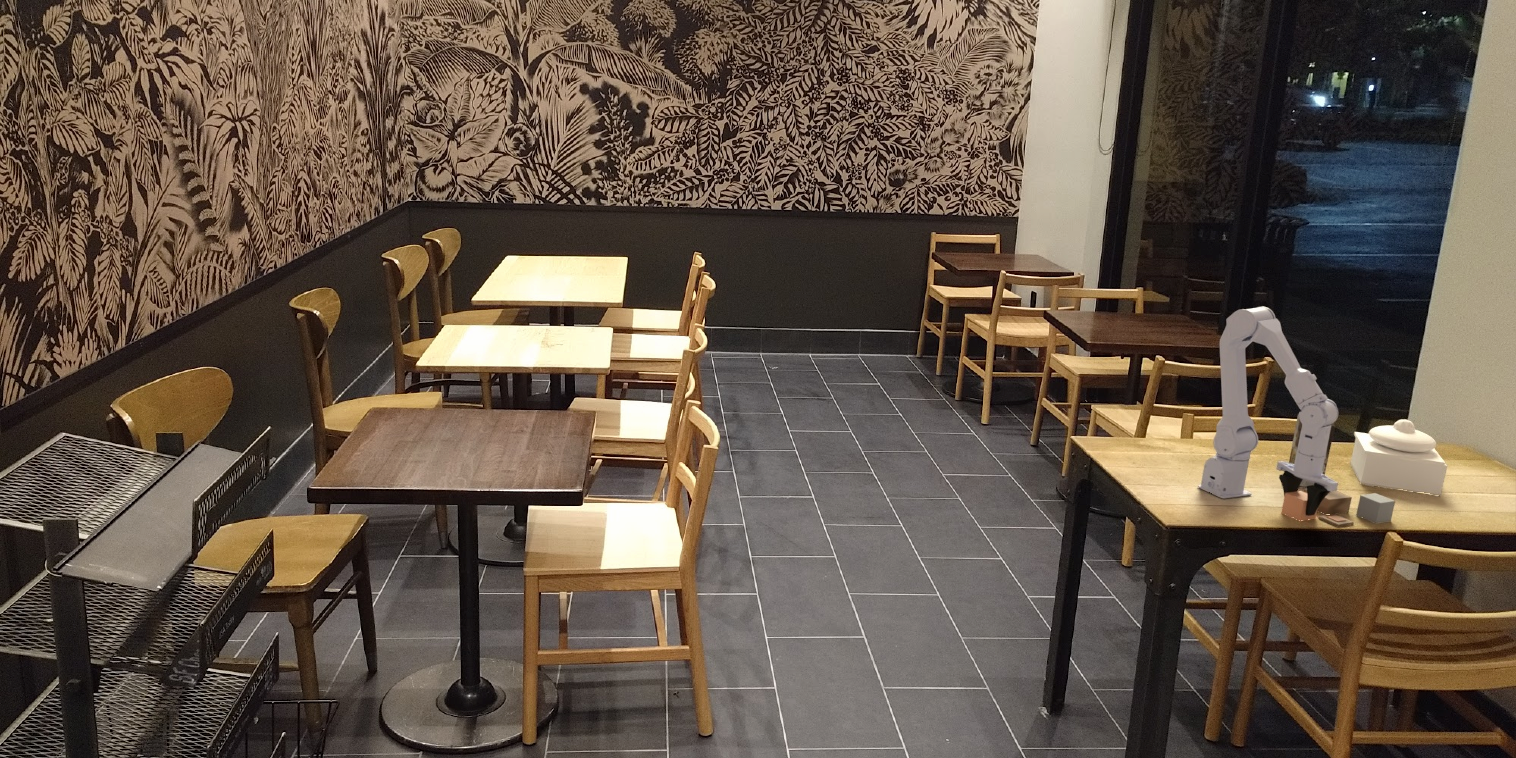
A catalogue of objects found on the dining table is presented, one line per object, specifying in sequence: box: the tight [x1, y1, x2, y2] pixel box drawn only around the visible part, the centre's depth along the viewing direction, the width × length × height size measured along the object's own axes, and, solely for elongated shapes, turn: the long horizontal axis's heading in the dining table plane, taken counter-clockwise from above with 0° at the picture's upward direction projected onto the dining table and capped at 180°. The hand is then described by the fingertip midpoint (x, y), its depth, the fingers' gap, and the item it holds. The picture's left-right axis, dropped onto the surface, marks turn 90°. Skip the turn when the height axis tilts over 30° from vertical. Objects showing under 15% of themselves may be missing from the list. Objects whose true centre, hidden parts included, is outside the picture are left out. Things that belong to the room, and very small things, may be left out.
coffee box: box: [1288, 413, 1336, 488], centre depth 274 cm, size 9×6×16 cm
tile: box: [1318, 514, 1355, 528], centre depth 250 cm, size 5×5×1 cm
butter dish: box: [1349, 418, 1448, 496], centre depth 280 cm, size 18×18×16 cm
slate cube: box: [1355, 492, 1396, 524], centre depth 253 cm, size 5×5×5 cm
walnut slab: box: [1303, 488, 1353, 515], centre depth 258 cm, size 7×7×4 cm
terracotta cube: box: [1281, 490, 1318, 522], centre depth 251 cm, size 5×5×5 cm
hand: (1299, 510), depth 251 cm, fingers closed on terracotta cube, 5 cm apart
